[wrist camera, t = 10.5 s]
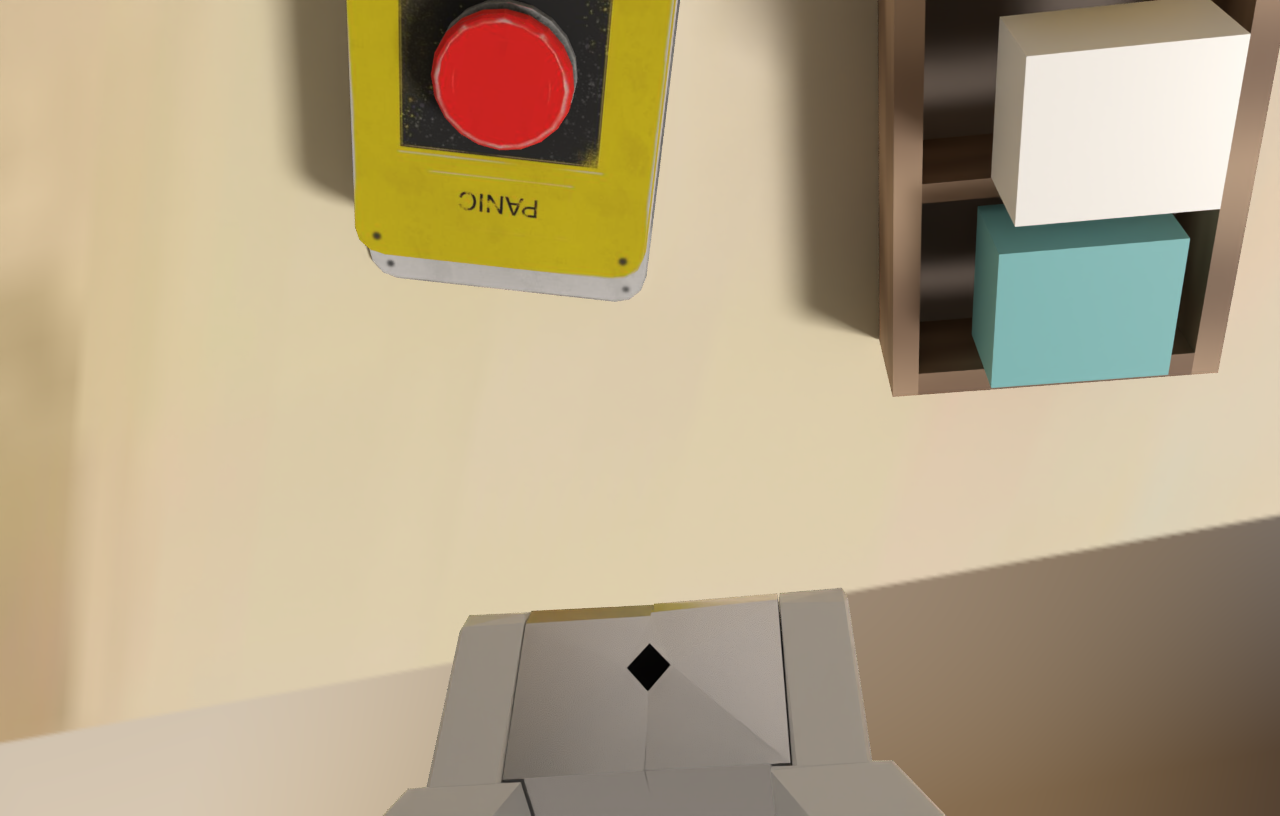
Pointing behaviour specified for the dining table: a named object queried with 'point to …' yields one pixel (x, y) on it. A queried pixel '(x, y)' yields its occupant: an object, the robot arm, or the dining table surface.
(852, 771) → the robot arm
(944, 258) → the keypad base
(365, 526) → the dining table surface
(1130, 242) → the teal block
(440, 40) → the emergency button
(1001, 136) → the white block
